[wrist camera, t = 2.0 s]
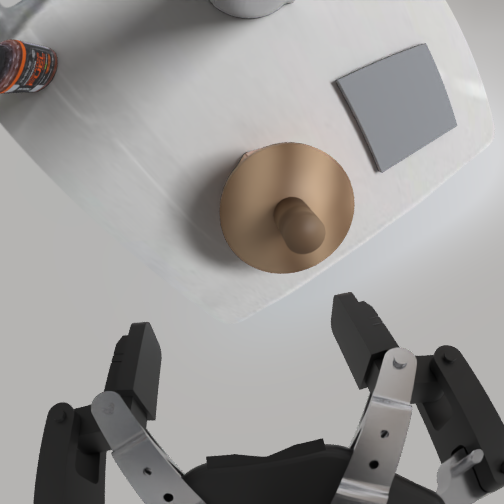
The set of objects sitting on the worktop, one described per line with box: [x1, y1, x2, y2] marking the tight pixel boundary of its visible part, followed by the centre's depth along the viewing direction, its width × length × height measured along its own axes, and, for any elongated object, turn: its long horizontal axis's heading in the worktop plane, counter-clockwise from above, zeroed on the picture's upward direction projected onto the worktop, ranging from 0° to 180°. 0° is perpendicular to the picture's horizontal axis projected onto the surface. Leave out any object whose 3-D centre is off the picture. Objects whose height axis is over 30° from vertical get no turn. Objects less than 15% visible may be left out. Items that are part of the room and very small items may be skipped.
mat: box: [336, 43, 457, 173], centre depth 29 cm, size 16×13×1 cm
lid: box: [220, 142, 354, 274], centre depth 26 cm, size 14×14×6 cm
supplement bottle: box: [0, 40, 57, 94], centre depth 16 cm, size 6×6×11 cm
